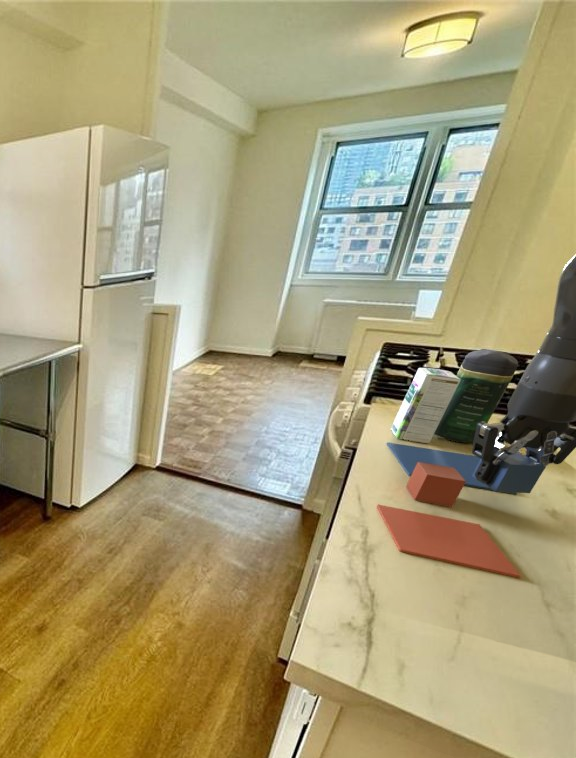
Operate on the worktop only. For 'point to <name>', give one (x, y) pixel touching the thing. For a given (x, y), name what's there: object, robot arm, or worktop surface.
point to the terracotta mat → (445, 540)
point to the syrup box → (425, 404)
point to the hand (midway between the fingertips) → (501, 482)
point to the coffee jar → (476, 393)
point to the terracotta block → (435, 484)
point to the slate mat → (438, 461)
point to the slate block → (515, 474)
